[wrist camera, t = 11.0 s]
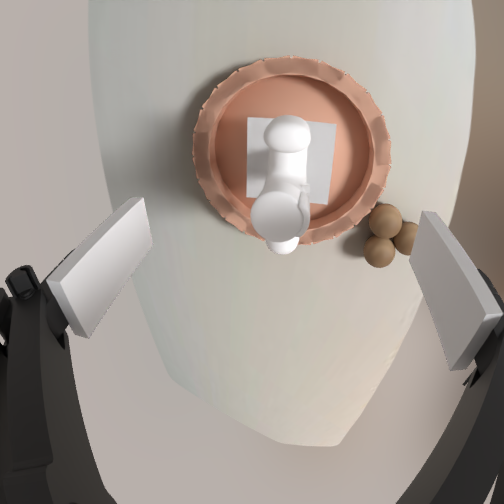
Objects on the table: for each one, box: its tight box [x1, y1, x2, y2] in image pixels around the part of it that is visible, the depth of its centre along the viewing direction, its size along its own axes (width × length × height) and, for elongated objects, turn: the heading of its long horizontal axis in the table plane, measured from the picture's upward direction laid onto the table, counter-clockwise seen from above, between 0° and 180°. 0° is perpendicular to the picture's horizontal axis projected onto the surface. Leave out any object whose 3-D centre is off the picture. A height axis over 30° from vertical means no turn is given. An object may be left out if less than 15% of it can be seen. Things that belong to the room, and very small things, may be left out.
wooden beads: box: [363, 204, 418, 268], centre depth 29 cm, size 7×7×4 cm
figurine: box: [246, 115, 337, 254], centre depth 21 cm, size 7×9×15 cm
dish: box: [192, 55, 391, 245], centre depth 26 cm, size 19×19×3 cm
